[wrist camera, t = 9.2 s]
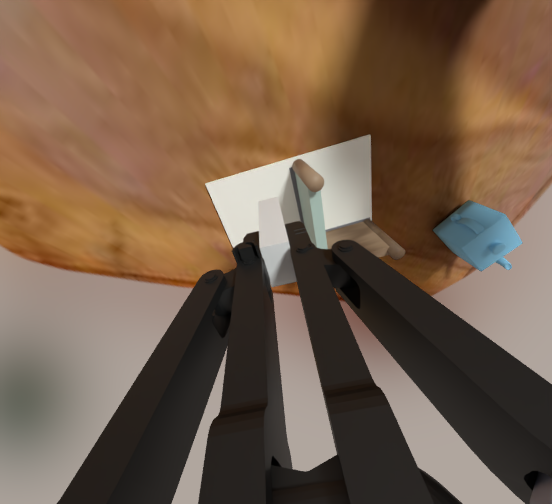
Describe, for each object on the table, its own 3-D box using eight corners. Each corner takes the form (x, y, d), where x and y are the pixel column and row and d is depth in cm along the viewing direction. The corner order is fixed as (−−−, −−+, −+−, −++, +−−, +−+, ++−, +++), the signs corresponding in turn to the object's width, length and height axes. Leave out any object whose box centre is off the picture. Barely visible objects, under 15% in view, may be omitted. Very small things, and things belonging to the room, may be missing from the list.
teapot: (489, 234, 37) (538, 258, 31) (456, 258, 39) (496, 286, 33) (459, 191, 32) (510, 211, 26) (423, 222, 34) (463, 246, 28)
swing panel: (314, 229, 32) (332, 260, 25) (304, 232, 32) (319, 264, 25) (304, 157, 26) (323, 172, 20) (291, 160, 26) (306, 177, 20)
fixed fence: (371, 215, 32) (406, 244, 25) (371, 229, 33) (405, 261, 26) (301, 234, 33) (316, 269, 25) (304, 247, 34) (319, 284, 27)
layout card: (369, 134, 27) (371, 134, 26) (370, 237, 35) (372, 239, 34) (205, 183, 28) (205, 184, 27) (244, 272, 36) (244, 274, 35)
